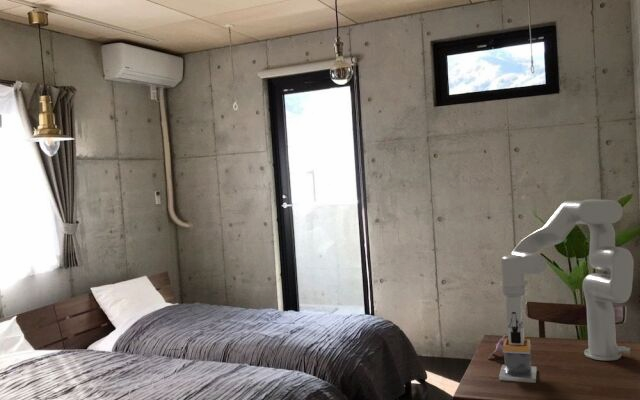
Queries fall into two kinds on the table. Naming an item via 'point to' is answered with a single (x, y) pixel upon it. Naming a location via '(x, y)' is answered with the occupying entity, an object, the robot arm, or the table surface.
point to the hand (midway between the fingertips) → (516, 340)
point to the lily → (499, 345)
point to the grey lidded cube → (521, 330)
